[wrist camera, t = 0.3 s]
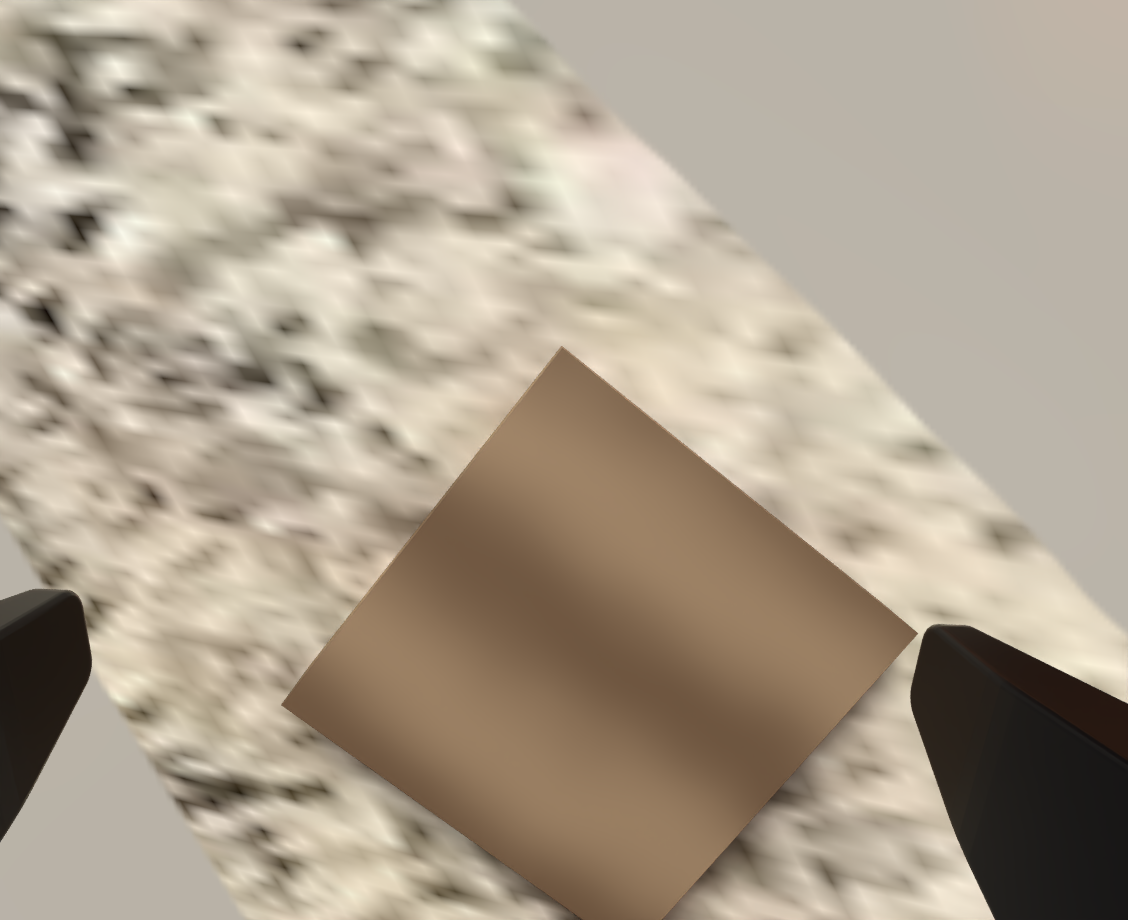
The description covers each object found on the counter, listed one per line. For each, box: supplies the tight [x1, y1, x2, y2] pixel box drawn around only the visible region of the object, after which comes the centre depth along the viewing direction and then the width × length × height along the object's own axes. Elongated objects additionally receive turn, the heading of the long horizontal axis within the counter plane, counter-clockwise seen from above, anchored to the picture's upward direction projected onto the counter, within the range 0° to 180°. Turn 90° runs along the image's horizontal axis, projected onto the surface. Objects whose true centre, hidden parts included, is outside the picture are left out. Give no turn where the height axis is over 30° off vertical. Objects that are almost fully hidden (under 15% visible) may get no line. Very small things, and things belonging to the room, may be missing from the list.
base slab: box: [282, 346, 918, 920], centre depth 24 cm, size 12×12×3 cm
